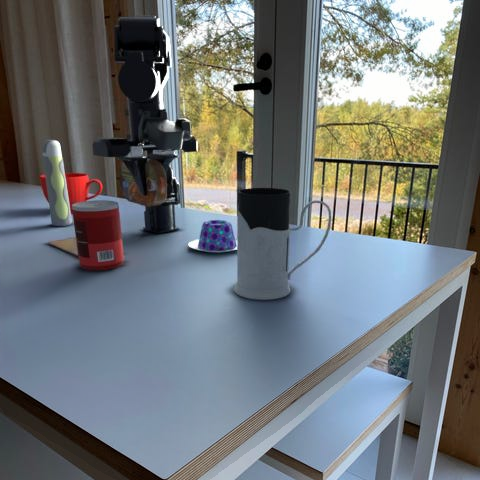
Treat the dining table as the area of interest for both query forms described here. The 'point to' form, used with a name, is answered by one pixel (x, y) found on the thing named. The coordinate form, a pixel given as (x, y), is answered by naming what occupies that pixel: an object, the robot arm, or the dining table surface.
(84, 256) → the canned food
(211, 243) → the pudding
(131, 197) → the tin
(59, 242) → the cork coaster
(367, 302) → the dining table surface
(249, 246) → the glass holder
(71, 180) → the ceramic cup
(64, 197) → the spray bottle
